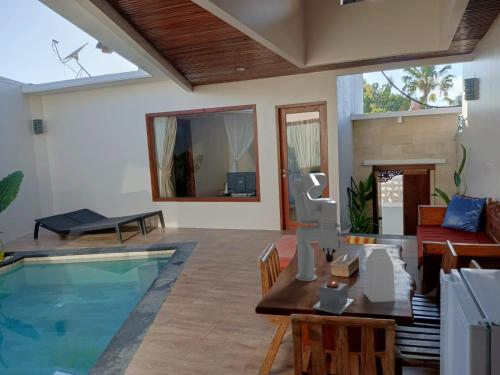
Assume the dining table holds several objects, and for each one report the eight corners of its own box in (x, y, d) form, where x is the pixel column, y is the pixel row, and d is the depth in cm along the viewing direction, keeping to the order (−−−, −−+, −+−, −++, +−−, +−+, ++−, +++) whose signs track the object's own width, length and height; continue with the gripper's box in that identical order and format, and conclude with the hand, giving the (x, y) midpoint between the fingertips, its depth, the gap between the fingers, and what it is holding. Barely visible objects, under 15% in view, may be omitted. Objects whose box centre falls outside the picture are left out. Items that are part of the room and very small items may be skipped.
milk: (386, 292, 209) (386, 244, 206) (395, 301, 197) (395, 250, 194) (364, 293, 208) (363, 245, 206) (371, 302, 197) (371, 251, 194)
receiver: (328, 296, 206) (327, 277, 205) (353, 301, 198) (353, 282, 197) (312, 308, 192) (312, 288, 191) (340, 314, 184) (339, 294, 183)
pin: (330, 298, 199) (330, 279, 198) (340, 300, 195) (340, 281, 194) (325, 301, 194) (325, 283, 193) (336, 304, 191) (335, 285, 190)
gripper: (346, 225, 192) (346, 262, 194) (318, 222, 200) (319, 257, 203) (340, 228, 186) (340, 266, 188) (312, 225, 194) (312, 261, 197)
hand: (329, 261), depth 195 cm, fingers closed
